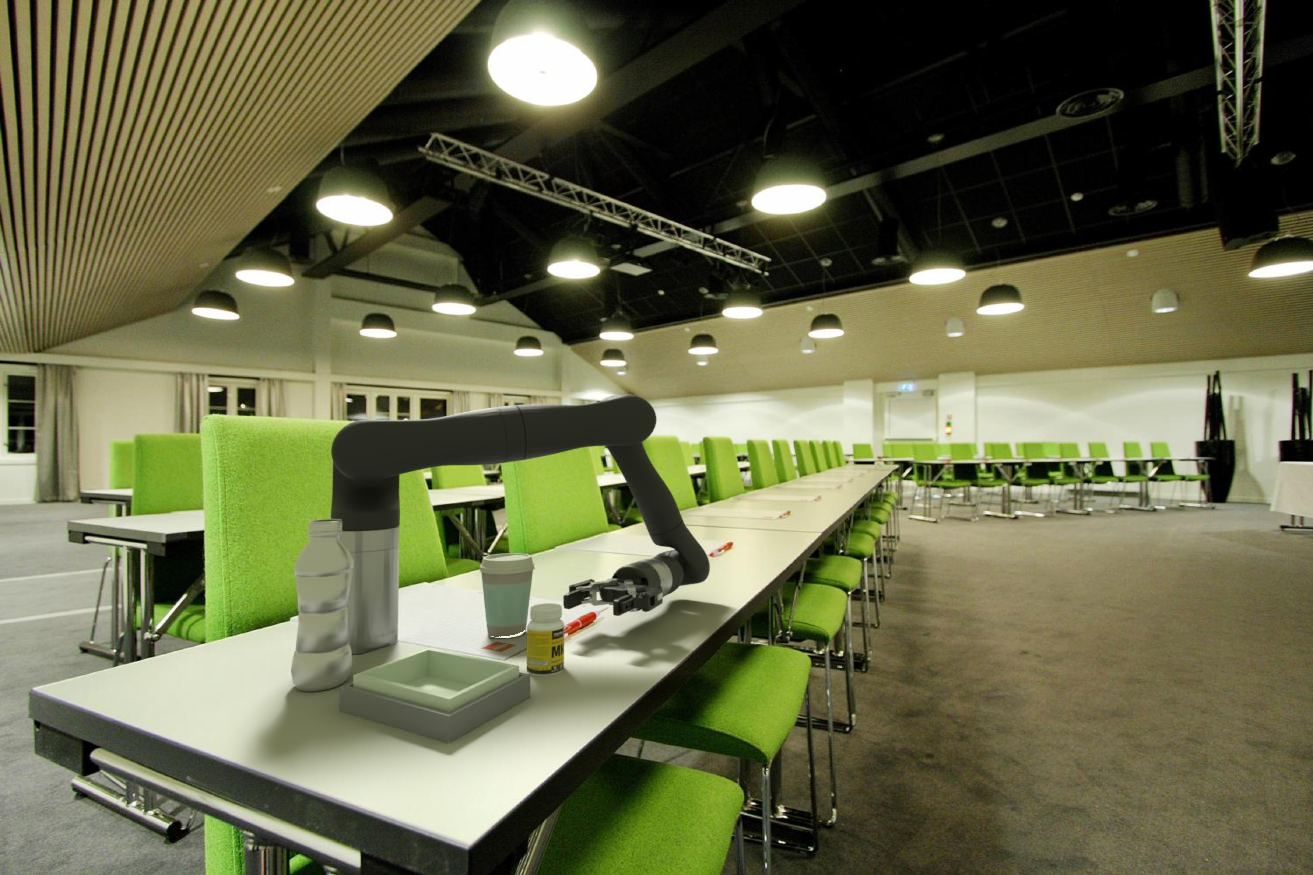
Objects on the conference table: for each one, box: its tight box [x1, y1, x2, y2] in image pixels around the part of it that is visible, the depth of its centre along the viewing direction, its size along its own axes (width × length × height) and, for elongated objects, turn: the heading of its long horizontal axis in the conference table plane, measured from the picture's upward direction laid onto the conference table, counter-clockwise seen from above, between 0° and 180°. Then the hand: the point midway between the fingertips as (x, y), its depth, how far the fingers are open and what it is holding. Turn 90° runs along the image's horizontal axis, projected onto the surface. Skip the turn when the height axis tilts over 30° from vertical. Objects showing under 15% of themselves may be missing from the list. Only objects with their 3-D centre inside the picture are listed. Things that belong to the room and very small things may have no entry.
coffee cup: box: [478, 552, 536, 637], centre depth 92 cm, size 8×9×12 cm
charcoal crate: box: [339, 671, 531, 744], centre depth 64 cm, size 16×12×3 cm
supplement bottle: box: [526, 602, 565, 677], centre depth 75 cm, size 5×5×8 cm
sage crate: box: [352, 647, 520, 713], centre depth 64 cm, size 14×10×4 cm
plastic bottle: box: [290, 518, 354, 693], centre depth 70 cm, size 6×7×20 cm
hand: (590, 605), depth 84 cm, fingers open, 8 cm apart
